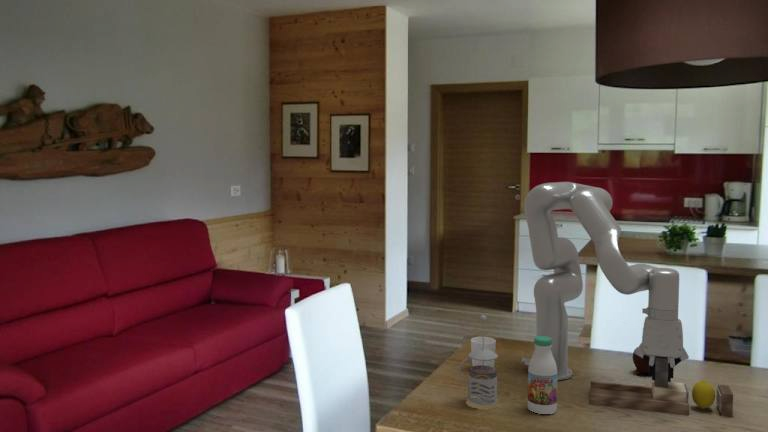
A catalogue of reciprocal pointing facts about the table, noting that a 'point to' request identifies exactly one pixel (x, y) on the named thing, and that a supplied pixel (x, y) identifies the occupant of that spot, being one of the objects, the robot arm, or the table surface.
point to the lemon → (703, 394)
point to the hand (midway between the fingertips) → (661, 379)
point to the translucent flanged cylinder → (478, 344)
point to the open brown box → (724, 400)
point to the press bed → (632, 398)
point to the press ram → (667, 384)
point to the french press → (482, 370)
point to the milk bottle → (542, 378)
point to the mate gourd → (640, 364)
